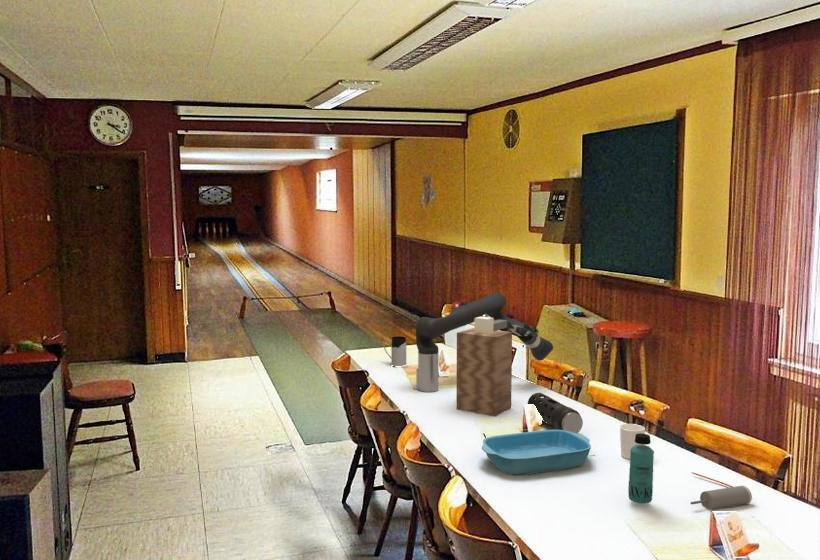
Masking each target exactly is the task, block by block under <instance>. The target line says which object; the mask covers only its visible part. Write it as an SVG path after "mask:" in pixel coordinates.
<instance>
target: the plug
mask: <svg viewBox="0 0 820 560" xmlns="http://www.w3.org/2000/svg"><path fill="white" fill-rule="evenodd" d="M506 327H507V320H494V319H493V318H491V317H490V316H481V317H477V318H475V321H474V327H473V328H474V333H482V334H489V333H493V331H496V330H498V331H501V330H502V329H506Z"/></svg>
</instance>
